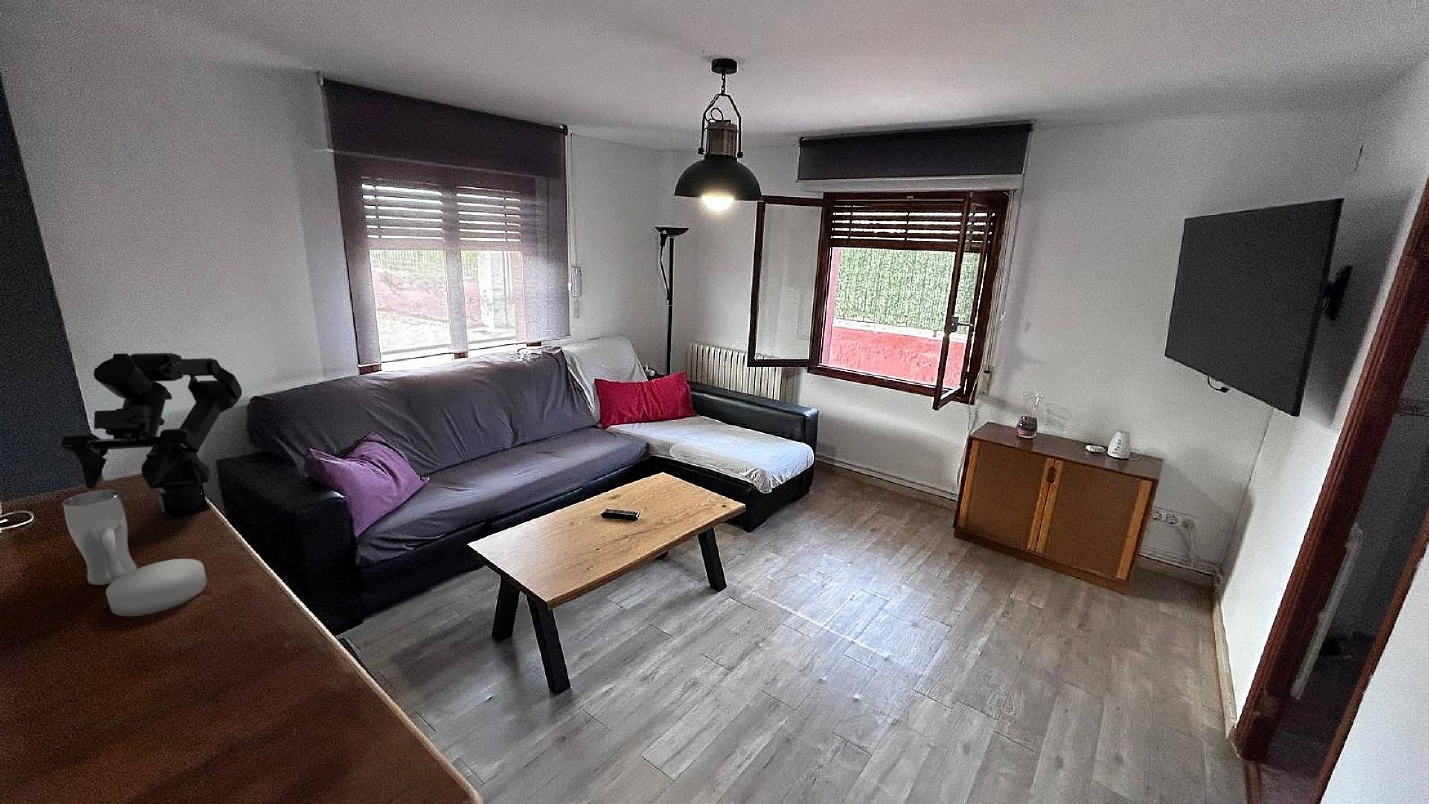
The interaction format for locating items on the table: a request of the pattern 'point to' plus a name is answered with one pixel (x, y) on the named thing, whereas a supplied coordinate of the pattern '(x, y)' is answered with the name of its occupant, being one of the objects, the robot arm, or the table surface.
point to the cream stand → (156, 587)
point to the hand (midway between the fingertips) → (121, 486)
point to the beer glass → (100, 534)
